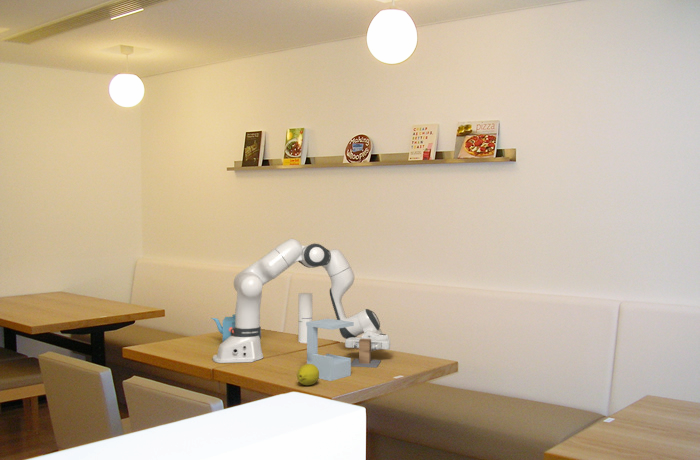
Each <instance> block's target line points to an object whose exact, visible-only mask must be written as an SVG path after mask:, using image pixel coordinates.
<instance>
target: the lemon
mask: <svg viewBox="0 0 700 460" xmlns="http://www.w3.org/2000/svg"><path fill="white" fill-rule="evenodd" d="M296 378H297V381H298V382H299V383H300V384H302V385H303V386H311V385H314V384H316V382H317V381H318V380H319V379H320V378H319V370H318V368H317V367H316V366H315V365H313V364H307V363H306V364H303V365H301V366H300V367H299V368H298V369H297V373H296Z"/></svg>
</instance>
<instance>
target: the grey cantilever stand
mask: <svg viewBox="0 0 700 460" xmlns="http://www.w3.org/2000/svg"><path fill="white" fill-rule="evenodd" d="M306 326H307V343H306V364H313V365H315V366H316V367H317V368H318V370H319V378H318V379H320V380H325V381H328V382H329V381H330V382H332V381H336V380H339V379H343V378H346V377H350V376H351V374H352V366H351V362H352V358H351V357H346V356H342V355H337V354H332V353H325V355H323V354H319V353H318V348H319V347H318V343H319V341H318V340H319V338H318V337H319V336H318V333H319V332H318V331H319V330H318V329H319V328H320V329H324V330H325V329H326V330H331V331H332V330H333V331H334V330H339V328H344V327H350V326H354V322H349V321H342V320H337V319H335V318H334V319H333V318H323V319H318V320H312V321H310V322H306Z"/></svg>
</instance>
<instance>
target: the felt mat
mask: <svg viewBox="0 0 700 460" xmlns="http://www.w3.org/2000/svg"><path fill="white" fill-rule="evenodd" d="M381 361H382V359H371V362H370V364H363V363H359V358H354V359H353V360H351V367H354V368H355V367H356V368H358V367H359V368H360V367H361V368H378V367H379V365H380V363H381Z"/></svg>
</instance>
